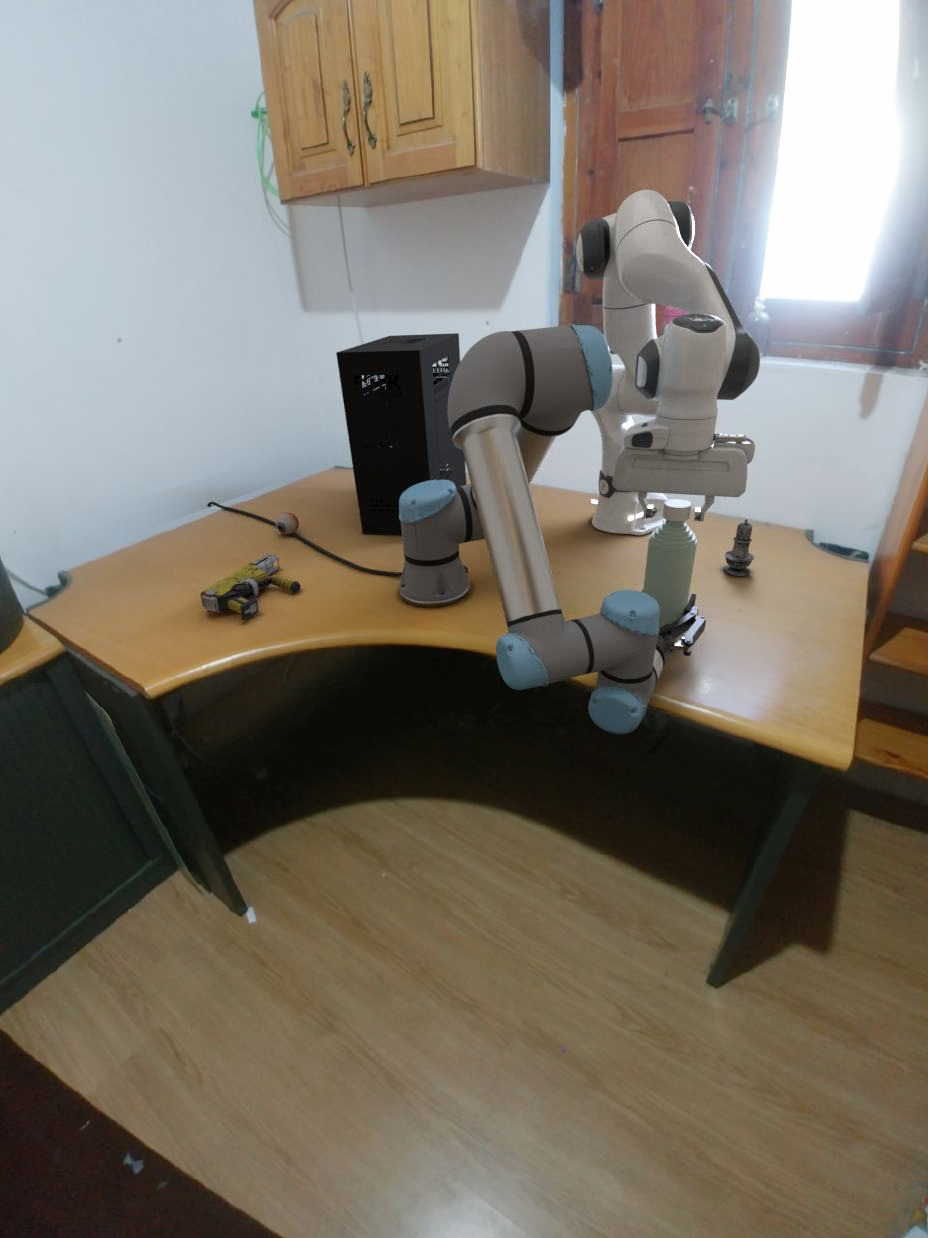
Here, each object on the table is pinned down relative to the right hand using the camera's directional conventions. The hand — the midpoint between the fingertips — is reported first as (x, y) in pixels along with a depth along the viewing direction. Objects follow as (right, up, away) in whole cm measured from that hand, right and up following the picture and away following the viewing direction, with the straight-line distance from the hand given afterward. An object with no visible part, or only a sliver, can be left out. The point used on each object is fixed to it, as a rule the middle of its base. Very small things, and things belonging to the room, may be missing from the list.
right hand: (672, 518), depth 100 cm
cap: (0, +2, -1) cm, 2 cm away
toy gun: (-79, -11, +35) cm, 87 cm away
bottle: (+2, -20, +11) cm, 23 cm away
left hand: (+4, -12, +12) cm, 18 cm away
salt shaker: (+25, -6, +33) cm, 42 cm away
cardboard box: (-48, +15, +77) cm, 92 cm away
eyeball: (-82, +6, +66) cm, 105 cm away
